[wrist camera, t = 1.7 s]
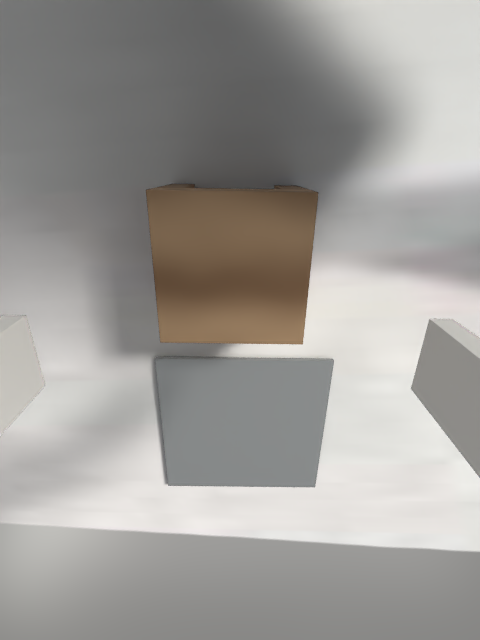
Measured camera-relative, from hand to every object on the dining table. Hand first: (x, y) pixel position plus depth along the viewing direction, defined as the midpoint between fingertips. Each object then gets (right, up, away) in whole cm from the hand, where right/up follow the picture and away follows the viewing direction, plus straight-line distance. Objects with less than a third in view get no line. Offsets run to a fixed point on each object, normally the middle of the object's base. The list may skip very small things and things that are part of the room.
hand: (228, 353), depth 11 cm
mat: (+1, -10, +22) cm, 24 cm away
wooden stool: (0, +7, +15) cm, 16 cm away
